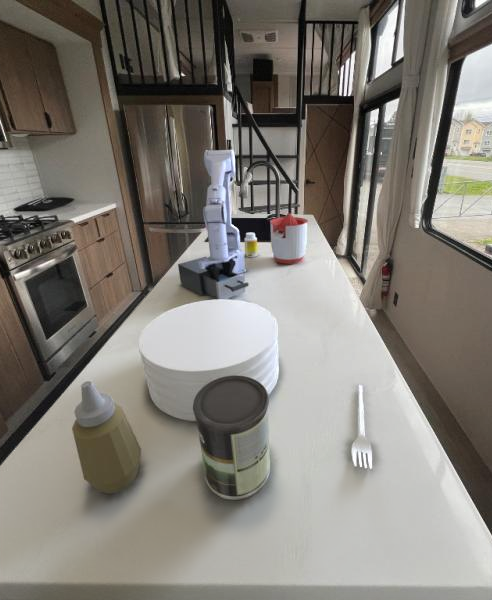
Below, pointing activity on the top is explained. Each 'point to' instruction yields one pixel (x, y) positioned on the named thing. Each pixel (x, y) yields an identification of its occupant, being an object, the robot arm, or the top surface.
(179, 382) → the plate stack
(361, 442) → the fork
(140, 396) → the top surface
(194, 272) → the small drawer box
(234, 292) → the grey drawer
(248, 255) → the supplement bottle
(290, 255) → the citrus juicer
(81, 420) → the squeeze bottle
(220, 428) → the coffee can
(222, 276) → the block
